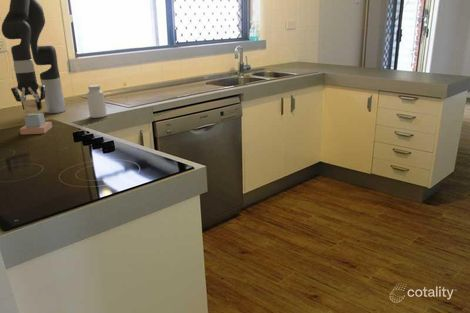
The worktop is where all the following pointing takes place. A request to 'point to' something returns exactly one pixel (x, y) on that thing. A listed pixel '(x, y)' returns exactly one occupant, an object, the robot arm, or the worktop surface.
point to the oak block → (30, 106)
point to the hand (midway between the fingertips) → (33, 110)
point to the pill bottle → (96, 102)
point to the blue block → (34, 120)
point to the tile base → (36, 129)
